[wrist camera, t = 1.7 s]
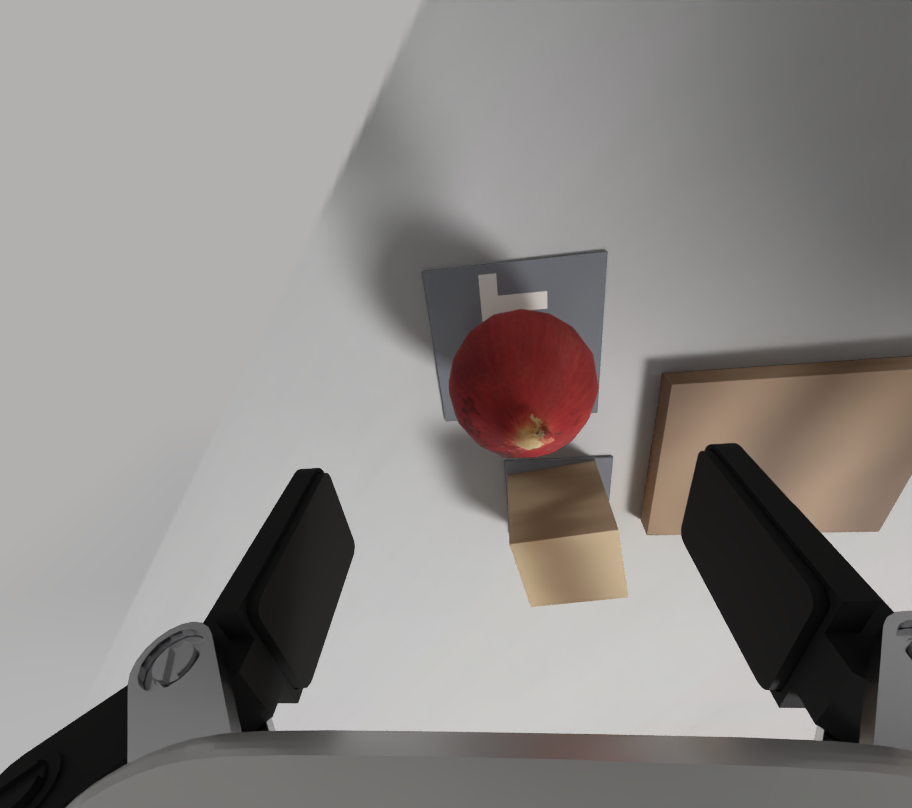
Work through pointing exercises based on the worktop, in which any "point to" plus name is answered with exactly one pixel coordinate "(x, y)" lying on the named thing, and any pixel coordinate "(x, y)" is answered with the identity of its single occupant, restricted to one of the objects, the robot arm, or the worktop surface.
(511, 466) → the code tile
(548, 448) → the onion
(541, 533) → the oak block
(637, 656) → the worktop surface
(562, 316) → the tile
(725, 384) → the board
